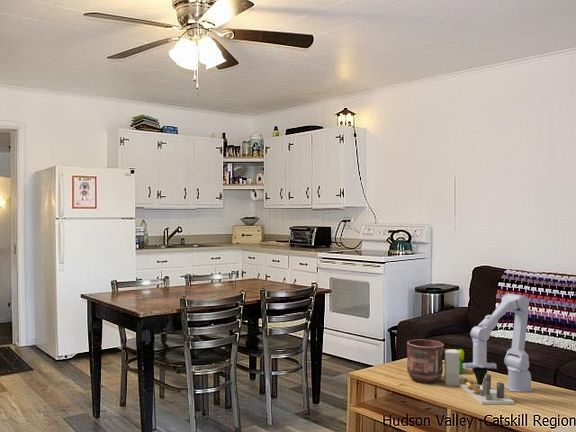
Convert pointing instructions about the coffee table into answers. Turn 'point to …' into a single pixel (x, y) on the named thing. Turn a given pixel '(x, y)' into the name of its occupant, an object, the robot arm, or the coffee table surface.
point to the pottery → (425, 360)
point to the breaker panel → (495, 394)
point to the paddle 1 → (465, 380)
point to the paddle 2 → (486, 388)
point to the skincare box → (451, 367)
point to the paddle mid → (473, 386)
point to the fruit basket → (461, 357)
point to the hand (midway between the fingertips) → (479, 384)
